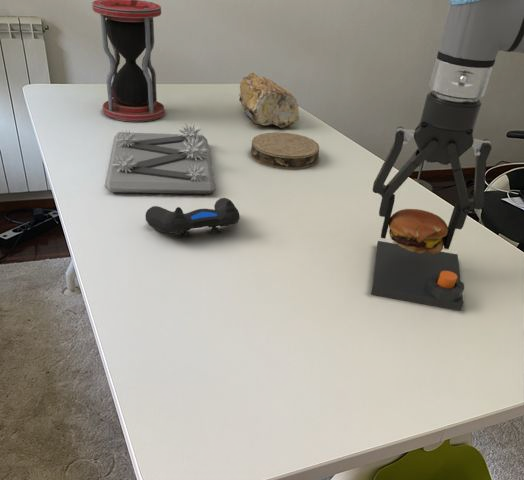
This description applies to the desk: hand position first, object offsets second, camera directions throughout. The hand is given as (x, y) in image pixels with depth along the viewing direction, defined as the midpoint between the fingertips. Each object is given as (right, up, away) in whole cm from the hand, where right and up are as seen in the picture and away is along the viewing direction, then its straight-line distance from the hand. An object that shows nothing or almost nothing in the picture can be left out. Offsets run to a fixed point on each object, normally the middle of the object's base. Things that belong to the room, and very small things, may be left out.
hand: (414, 239), depth 90 cm
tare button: (+3, -8, -5) cm, 10 cm away
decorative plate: (-47, +21, +29) cm, 60 cm away
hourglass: (-59, +45, +57) cm, 94 cm away
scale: (+1, -6, +1) cm, 6 cm away
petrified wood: (-24, +46, +62) cm, 81 cm away
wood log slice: (-20, +28, +40) cm, 53 cm away
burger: (0, -1, 0) cm, 1 cm away
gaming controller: (-37, +3, +8) cm, 38 cm away
